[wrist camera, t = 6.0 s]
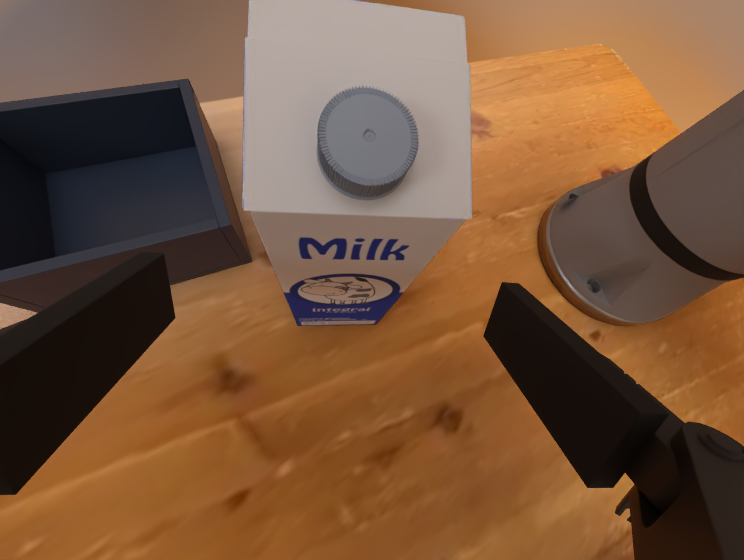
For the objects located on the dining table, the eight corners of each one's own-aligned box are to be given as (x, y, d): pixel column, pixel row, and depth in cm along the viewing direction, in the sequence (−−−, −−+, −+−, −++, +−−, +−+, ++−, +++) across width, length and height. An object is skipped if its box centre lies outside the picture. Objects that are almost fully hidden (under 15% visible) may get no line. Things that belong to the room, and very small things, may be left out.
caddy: (215, 141, 30) (188, 78, 24) (252, 261, 27) (231, 224, 21) (39, 172, 26) (-47, 108, 20) (56, 317, 23) (-41, 292, 17)
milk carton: (374, 253, 29) (470, 9, 10) (378, 324, 27) (508, 179, 8) (297, 252, 28) (244, -26, 9) (295, 326, 26) (218, 161, 7)
